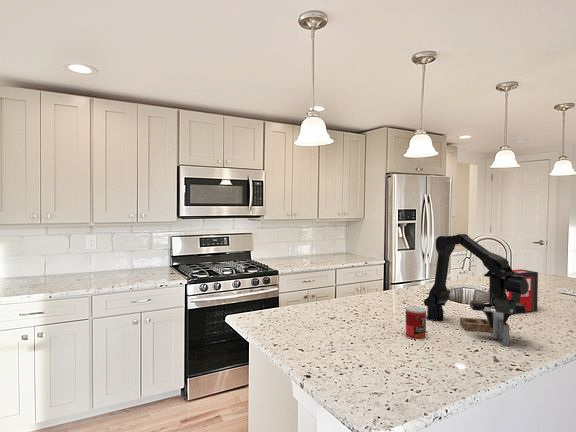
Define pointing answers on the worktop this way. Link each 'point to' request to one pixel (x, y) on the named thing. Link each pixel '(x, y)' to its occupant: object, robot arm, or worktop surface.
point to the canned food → (415, 322)
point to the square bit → (496, 323)
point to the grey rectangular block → (503, 333)
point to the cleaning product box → (531, 296)
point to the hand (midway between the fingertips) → (496, 328)
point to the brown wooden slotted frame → (475, 324)
